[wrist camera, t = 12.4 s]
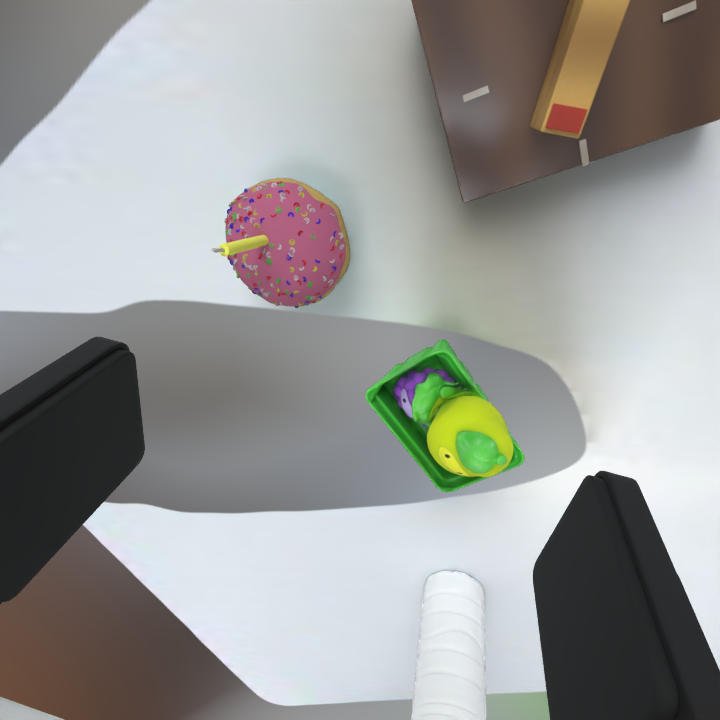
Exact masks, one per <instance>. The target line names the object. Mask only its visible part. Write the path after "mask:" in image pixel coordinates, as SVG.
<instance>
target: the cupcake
mask: <svg viewBox="0 0 720 720" xmlns="http://www.w3.org/2000/svg"><path fill="white" fill-rule="evenodd" d="M230 204H231V205H230ZM229 207H230V209H228V210H227V214H228V215H227V218H226V219H225V223H226V241H227V243H225V244H221V245H220V246H219V248H217V249H215V248H212V251H213V252H220V254H221V255H222V256H228V260H230V264H231V265H233V270H235V271H236V273H237V278H239V277H240V278H241V280H242V281H243V282H244V283H245V284H246V285H247V286H248V288H249V289H250V290H252V292H253V293H254V292H255V293H254V294H257V295H258V296H260V297H262V298H263V299H265V300H267V301H268V302H270V303H273V304H275V305H276V304H277V305H276V306H278V305H284V306H295V308H298V307H299V306H303V305H309V304H311V303H315V302H317V301H320V300H322V299H323V298H325V297H326V296H327V295H328V294H329V293H330V292H331V291H332V290H333V289H334V288H335V286H336V285H337V283H338V282H339V281H340V279H341V278H342V276H343V275H344V274H345V272H346V271H347V269H348V266H349V262H350V246H349V240H348V235H347V231H346V228H345V224H344V221H343V218H342V215H341V212H340V209H339V208H338V206H337V205H336V204H335V203H333V202H332V201H330V200H329V199H328V198H326V197H325V196H324V195H323V194H321V193H320V192H318V191H317V190H315V189H314V188H312V187H310V186H308V185H307V184H305V183H302V182H300V181H297V180H293V179H288V178H276V179H270V180H266V181H263V182H260V183H258V184H256V185H254V186H252V187H250V188H248V189H245V190H244V192H243V193H242V194H240V195H239V196H238V197H237V198H236V199H235V200H234V201H233V202H231V203H229ZM228 211H229V212H228ZM229 256H230V257H229ZM296 306H297V307H296Z"/></svg>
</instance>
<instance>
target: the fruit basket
mask: <svg viewBox="0 0 720 720" xmlns="http://www.w3.org/2000/svg"><path fill="white" fill-rule="evenodd" d="M366 400H367V402H368V404H369V405H370V406H371V407H372V408H373V409H374V411H375V412H376V413H377V414H378V415H379V417H380V418H381V419H382V420H383V422H384V423H385V424H386V425H387V426H388V427H389V428H390V430H391V431H392V432H393V433H394V435H395V436H396V437H397V439H398V440H399V441H400V442H401V444H402V445H403V446H404V447H405V448H406V450H407V451H408V452H409V453H410V455H411V456H412V457H413V458H414V460H415V461H416V462H417V463H418V464H419V465H420V467H421V468H422V469H423V471H424V472H425V473H426V474H427V475H428V477H429V478H430V479H431V481H432V482H433V483H434V484H435V486H436V487H437V488H438V489H440V490H441V491H445V492H452V491H455V490H458V489H460V488H463V487H465V486H468V485H470V484H473V483H476V482H478V481H480V480H483V479H486V478H489V477H491V476H494V475H497V474H500V473H502V472H505V471H508V470H510V469H512V468H515V467H518V466H520V465H521V464H522V463H523V462H524V459H525V457H524V454H523V452H522V451H521V449H520V447H519V445H518V444H517V443H516V441H515V440H514V439H513V437H512V436H511V434H510V432H509V430H508V429H507V425H506V423H505V421H504V419H503V417H502V416H501V414H500V413H499V411H498V410H497V409H496V408H495V407H494V406H493V405H492V404H491V403H490V402H489V400H488V398H487V397H486V395H485V394H484V393H483V391H482V389H481V388H480V387H479V385H478V384H476V383H475V382H474V380H473V378H472V376H471V374H470V373H469V371H468V370H467V369H466V367H465V366H464V365H463V363H462V362H461V361H459V360H458V359H457V357H456V354H455V352H454V351H453V350H452V348H451V347H450V345H449V344H448V342H447V341H446V340H444V339H443V340H440V341H438V342H437V343H436V345H434V347H430V348H426V349H424V350H422V351H421V352H419V353H417V354H415V355H413V356H412V357H410V358H409V359H407V361H405V363H402V364H398V365H396V366H394V367H393V368H392V370H390V371H389V372H388V373H387V375H385V376H384V377H383V378H382V379H381V380H380V381H379V382H377V383H375V384H374V385H373V386H372V387H371V388H369V389H368V390H367V392H366Z"/></svg>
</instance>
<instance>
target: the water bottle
mask: <svg viewBox="0 0 720 720" xmlns="http://www.w3.org/2000/svg"><path fill="white" fill-rule="evenodd" d="M484 611H485V605H484V591H483V589H482V587H481V585H480V583H479V582H478V581H477V580H476V579H474V578H473V577H469V576H468V575H467V574H465V573H462V572H458V571H454V572H451V571H448V570H447V571H440V572H437V573H436V574H432V575H431V576H430V577H428V579H427V580H426V583H425V586H424V594H423V608H422V614H421V627H420V634H419V638H420V642H419V645H418V654H417V658H418V661H417V665H416V673H415V686H414V692H413V705H412V717H411V720H486V717H487V716H486V715H487V709H486V708H487V707H486V698H485V695H486V676H485V670H486V663H485V658H484V657H485V636H484V632H485V619H484Z"/></svg>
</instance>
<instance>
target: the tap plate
mask: <svg viewBox="0 0 720 720" xmlns="http://www.w3.org/2000/svg"><path fill="white" fill-rule="evenodd" d="M568 3H569V0H412V4H413V8H414V12H415V16H416V20H417V24H418V28H419V32H420V36H421V39H422V43H423V47H424V51H425V55H426V59H427V63H428V67H429V71H430V75H431V79H432V83H433V86H434V90H435V94H436V98H437V102H438V106H439V110H440V114H441V118H442V122H443V126H444V130H445V133H446V137H447V141H448V145H449V149H450V153H451V157H452V161H453V165H454V169H455V173H456V177H457V180H458V184H459V188H460V192H461V196H462V200H463V203H466V202H469V201H472V200H475V199H478V198H481V197H484V196H487V195H490V194H493V193H496V192H499V191H502V190H506V189H509V188H512V187H515V186H518V185H521V184H524V183H527V182H530V181H533V180H536V179H539V178H542V177H545V176H548V175H551V174H554V173H557V172H561V171H564V170H567V169H570V168H573V167H576V166H579V165H582V167H584V166H587V165H589V162H591V161H594V160H597V159H600V158H603V157H606V156H609V155H612V154H616V153H619V152H622V151H625V150H628V149H631V148H634V147H637V146H640V145H643V144H646V143H649V142H652V141H655V140H658V139H661V138H664V137H668V136H671V135H674V134H677V133H680V132H683V131H686V130H689V129H692V128H695V127H698V126H701V125H704V124H707V123H710V122H713V121H716V120H719V119H720V0H630V2H629V5H628V8H627V10H626V13H625V16H624V19H623V21H622V24H621V27H620V29H619V32H618V35H617V37H616V40H615V43H614V46H613V48H612V51H611V54H610V56H609V59H608V62H607V64H606V67H605V70H604V73H603V75H602V78H601V81H600V83H599V86H598V89H597V91H596V94H595V97H594V100H593V102H592V105H591V108H590V110H589V113H588V116H587V118H586V121H585V124H584V127H583V129H582V132H581V135H580V137H579V138H578V139H577V138H572V137H566V136H561V135H556V134H551V133H545V132H541V131H539V130H536V129H534V128H532V127H530V124H531V120H532V117H533V114H534V111H535V108H536V105H537V101H538V98H539V95H540V92H541V89H542V86H543V82H544V79H545V76H546V73H547V70H548V67H549V63H550V60H551V57H552V54H553V51H554V48H555V44H556V41H557V38H558V35H559V32H560V29H561V25H562V22H563V19H564V16H565V13H566V10H567V6H568Z"/></svg>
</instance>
